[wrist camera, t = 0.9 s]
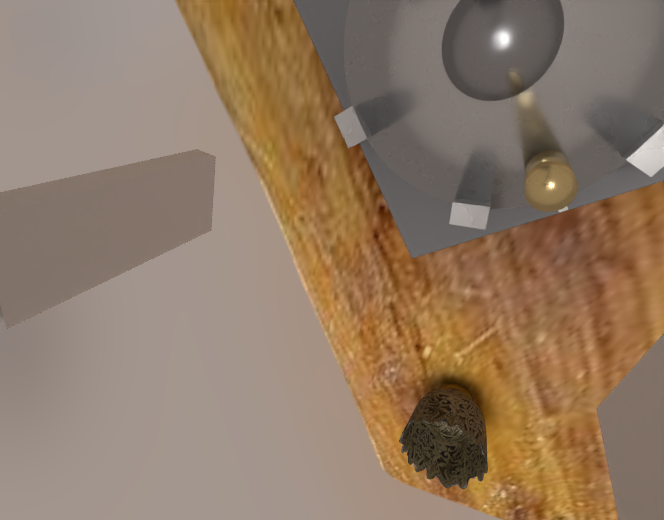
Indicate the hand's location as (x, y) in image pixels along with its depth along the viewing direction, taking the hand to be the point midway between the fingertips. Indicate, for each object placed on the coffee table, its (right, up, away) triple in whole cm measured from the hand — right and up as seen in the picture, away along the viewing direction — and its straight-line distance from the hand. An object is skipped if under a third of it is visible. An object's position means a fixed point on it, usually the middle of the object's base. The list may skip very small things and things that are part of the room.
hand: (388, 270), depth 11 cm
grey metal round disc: (+9, +14, +13) cm, 22 cm away
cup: (+11, -13, +29) cm, 34 cm away
